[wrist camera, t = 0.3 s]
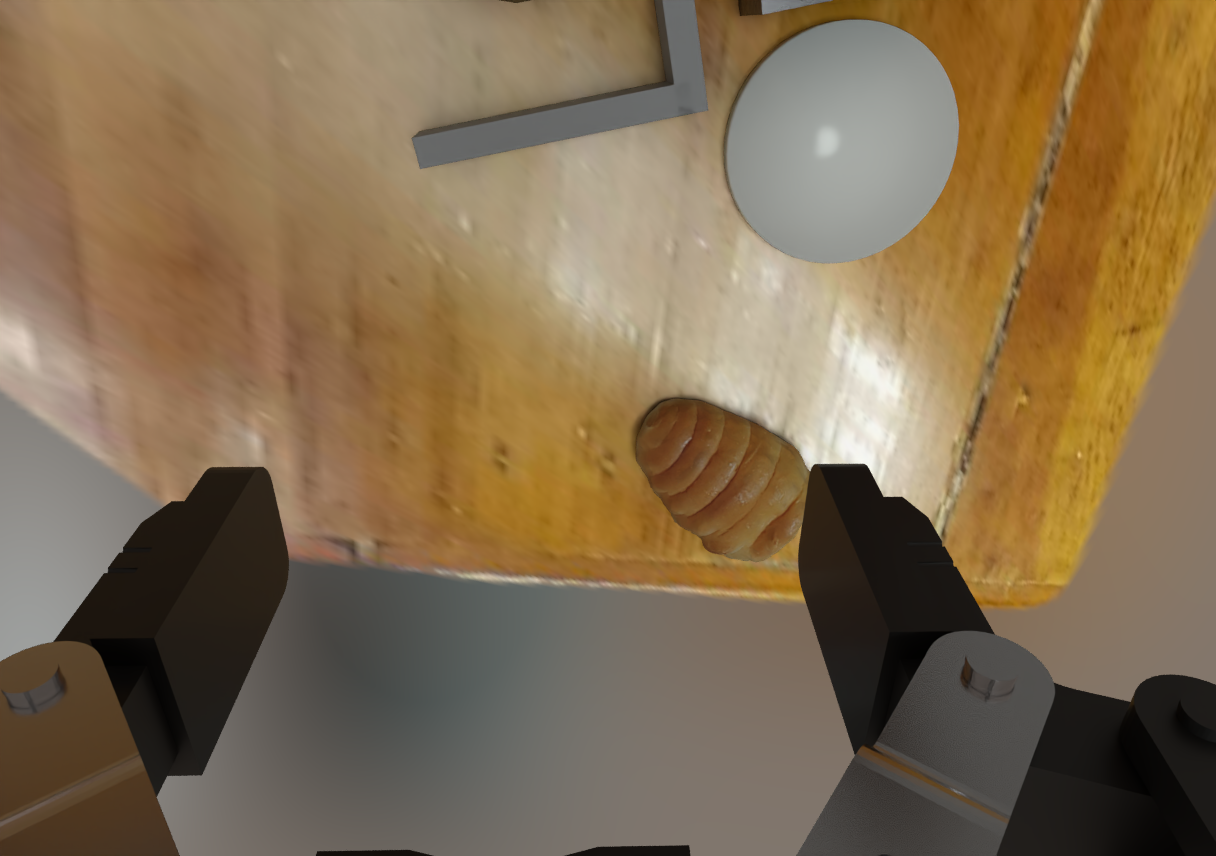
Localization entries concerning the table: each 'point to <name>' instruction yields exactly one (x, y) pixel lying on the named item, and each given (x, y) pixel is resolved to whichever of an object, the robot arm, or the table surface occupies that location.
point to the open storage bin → (771, 5)
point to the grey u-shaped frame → (586, 103)
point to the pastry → (724, 478)
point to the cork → (515, 1)
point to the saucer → (841, 140)
